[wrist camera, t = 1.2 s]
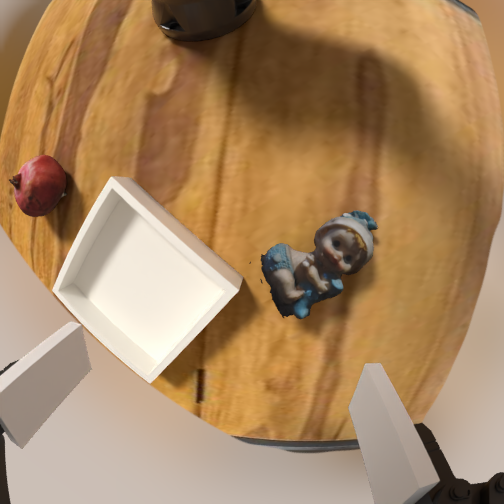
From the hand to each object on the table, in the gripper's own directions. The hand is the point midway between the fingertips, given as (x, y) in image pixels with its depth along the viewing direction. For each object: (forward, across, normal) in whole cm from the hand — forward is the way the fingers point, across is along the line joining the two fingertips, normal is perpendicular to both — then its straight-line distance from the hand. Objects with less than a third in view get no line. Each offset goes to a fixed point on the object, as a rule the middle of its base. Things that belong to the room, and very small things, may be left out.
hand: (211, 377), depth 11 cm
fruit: (+24, -32, +8) cm, 41 cm away
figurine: (+24, +9, +1) cm, 26 cm away
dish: (+24, -15, -5) cm, 28 cm away
